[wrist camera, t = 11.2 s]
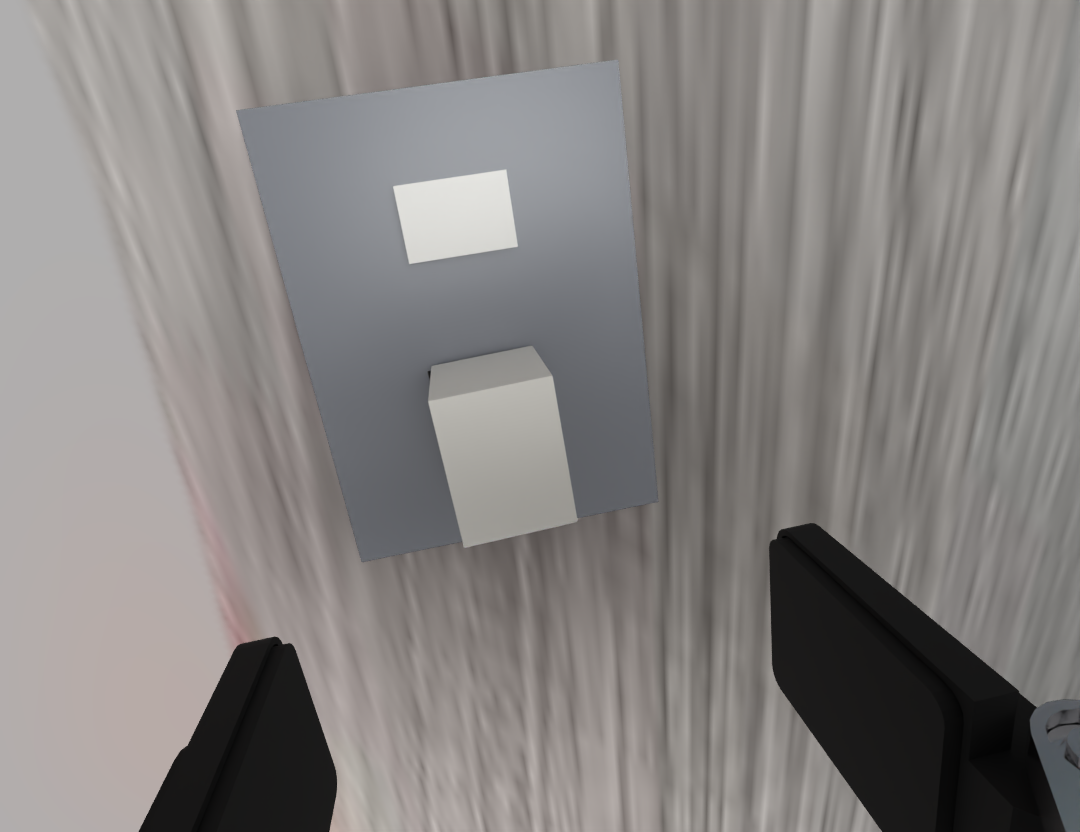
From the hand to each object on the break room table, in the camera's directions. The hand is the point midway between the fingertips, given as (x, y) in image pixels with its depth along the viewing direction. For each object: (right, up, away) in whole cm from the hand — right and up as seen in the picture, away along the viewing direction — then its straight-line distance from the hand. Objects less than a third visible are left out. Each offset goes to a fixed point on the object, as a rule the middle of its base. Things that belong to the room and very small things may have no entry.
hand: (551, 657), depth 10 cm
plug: (-2, +5, +15) cm, 16 cm away
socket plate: (-3, +8, +14) cm, 16 cm away
